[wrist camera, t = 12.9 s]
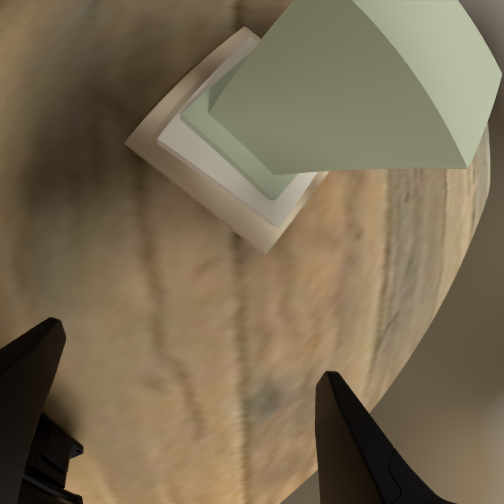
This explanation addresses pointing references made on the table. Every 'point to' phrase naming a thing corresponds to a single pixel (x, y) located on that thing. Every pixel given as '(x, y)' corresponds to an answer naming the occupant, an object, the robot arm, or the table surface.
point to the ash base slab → (192, 181)
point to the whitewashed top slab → (217, 168)
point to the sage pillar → (352, 92)
